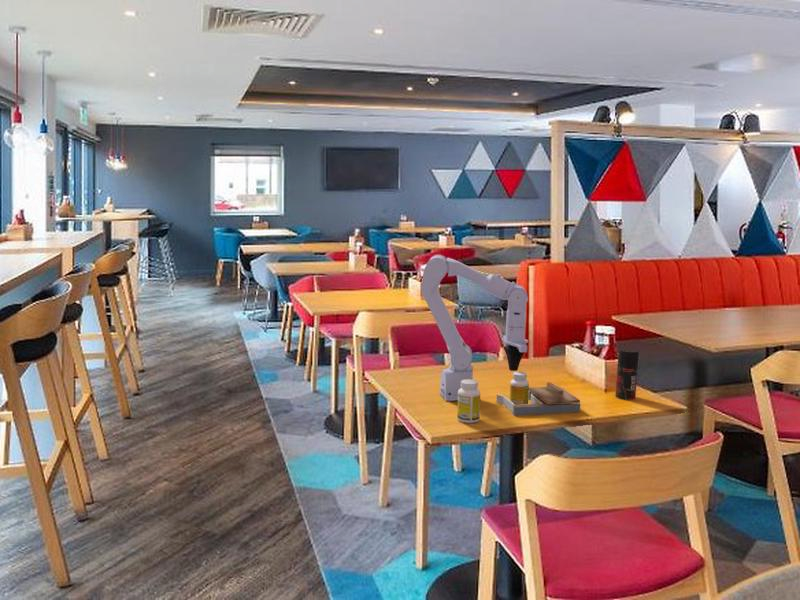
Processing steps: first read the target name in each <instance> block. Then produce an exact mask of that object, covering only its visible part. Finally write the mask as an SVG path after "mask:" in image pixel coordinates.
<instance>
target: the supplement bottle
mask: <svg viewBox="0 0 800 600" xmlns="http://www.w3.org/2000/svg"><path fill="white" fill-rule="evenodd" d="M527 377H528V373H526V372H524V371H515V372H514V371H513V373H512V378H513V379H511V381H510V385H509V386H510V387H509V389H510V391H509V392H510V393H509V400H510V401H511V402H513V403H514V404H515V405H521V404H529V388H530V382H529V381H528V380H527Z"/></svg>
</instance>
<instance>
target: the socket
mask: <svg viewBox="0 0 800 600" xmlns="http://www.w3.org/2000/svg"><path fill="white" fill-rule="evenodd" d="M528 401H529V402H530V403H528V404H521V405H515V404H514V403H513V402H511V401H510V398H508V397H506V396H505V395H503V394H499V393H497V394H496V403H497V402H498V403H497V404H500V403H501V404H500V405H502V404H503V406H504V407H505V408H506V407H507V408H508V409H507V408H506V409H507V410H509V412H511V413H512V414H513V416H514V417H520V416H522V417H523V416H536V415H537V416H539V415H540V416H541V415H556V414H555V413H560V414H572V413H573V412H578V413H581V402H580V403H565V404H545V402H543V401H542V400H540V399H539V398H538V397H537V396H535V395H534V394H533V393H531V392H530V391H529V398H528ZM573 414H574V413H573Z"/></svg>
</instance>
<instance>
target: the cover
mask: <svg viewBox="0 0 800 600" xmlns="http://www.w3.org/2000/svg"><path fill="white" fill-rule="evenodd" d="M529 391H530V392H531V393H533V394H534V395H535V396H537V397H538V398H539V399H541V400H540V401H541V402H542V403H544V404H545V405H554V404H574V403H580V404H581V400H580V399H579V398H578V397H576V396H575V395H573V394H572V393H571V392H568V391H567V390H566V389H564V388H562V387H561V386H559V385H558V386H557V385H556V384H555V383H553V382H546V386H536V387H535V386H534V387H532V386H531V387H529Z"/></svg>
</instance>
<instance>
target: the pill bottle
mask: <svg viewBox="0 0 800 600" xmlns="http://www.w3.org/2000/svg"><path fill="white" fill-rule="evenodd" d="M461 387H462V388H460V389H459V391H458V400H457V420H458V421H459V422H460V423H464V422H465V424H474V423H477V422H479V421H480V419H481V390H479V388H478V387H479V381H478V380H476V379H473V380H472V379H465V380H462V381H461Z"/></svg>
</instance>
